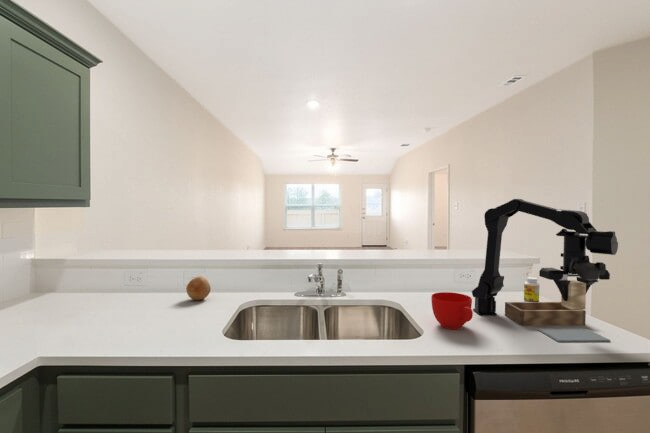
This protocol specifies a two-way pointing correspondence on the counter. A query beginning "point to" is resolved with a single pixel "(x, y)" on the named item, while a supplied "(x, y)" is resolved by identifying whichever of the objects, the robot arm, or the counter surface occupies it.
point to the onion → (198, 288)
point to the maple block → (575, 295)
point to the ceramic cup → (452, 309)
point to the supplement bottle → (531, 290)
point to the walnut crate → (543, 314)
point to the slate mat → (573, 335)
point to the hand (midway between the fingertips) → (573, 300)
